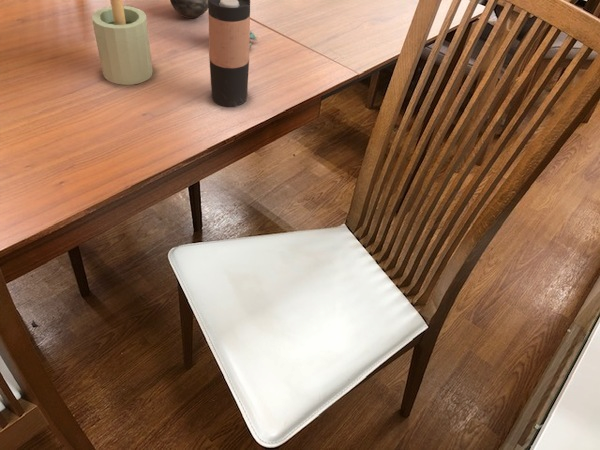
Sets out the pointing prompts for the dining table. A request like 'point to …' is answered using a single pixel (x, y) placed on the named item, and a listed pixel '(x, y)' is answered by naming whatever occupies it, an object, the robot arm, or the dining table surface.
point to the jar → (123, 46)
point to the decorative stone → (190, 7)
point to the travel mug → (229, 50)
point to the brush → (118, 12)
